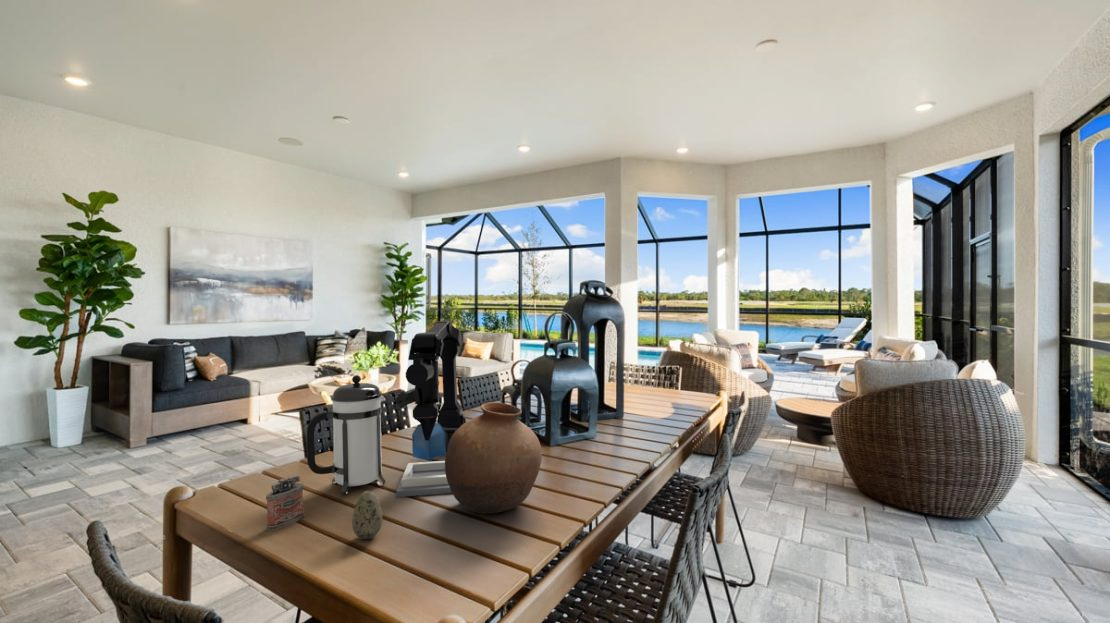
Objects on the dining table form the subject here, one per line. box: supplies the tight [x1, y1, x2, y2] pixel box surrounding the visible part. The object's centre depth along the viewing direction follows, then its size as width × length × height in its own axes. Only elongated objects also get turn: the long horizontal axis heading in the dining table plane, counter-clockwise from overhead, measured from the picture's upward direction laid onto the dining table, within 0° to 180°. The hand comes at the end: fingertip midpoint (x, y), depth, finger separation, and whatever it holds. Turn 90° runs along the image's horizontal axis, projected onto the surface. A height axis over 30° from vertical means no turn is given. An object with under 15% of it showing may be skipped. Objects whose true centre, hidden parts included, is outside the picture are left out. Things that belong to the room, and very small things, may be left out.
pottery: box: [444, 401, 543, 514], centre depth 116 cm, size 23×23×25 cm
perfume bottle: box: [411, 422, 446, 462], centre depth 133 cm, size 6×6×12 cm
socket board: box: [395, 460, 452, 498], centre depth 133 cm, size 18×15×4 cm
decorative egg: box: [351, 490, 383, 540], centre depth 102 cm, size 6×6×10 cm
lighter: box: [265, 474, 305, 531], centre depth 109 cm, size 8×3×10 cm, turn 148°
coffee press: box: [305, 374, 386, 495], centre depth 131 cm, size 17×16×30 cm
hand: (428, 435), depth 133 cm, fingers closed on perfume bottle, 9 cm apart
